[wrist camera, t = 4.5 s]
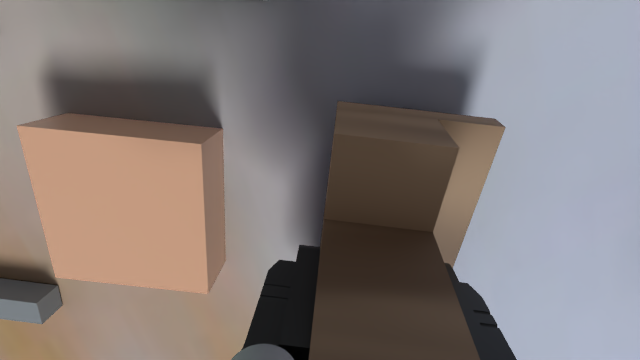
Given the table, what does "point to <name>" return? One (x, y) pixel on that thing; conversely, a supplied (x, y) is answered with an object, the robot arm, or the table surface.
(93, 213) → the tile
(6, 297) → the bay
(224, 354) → the table surface
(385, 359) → the brown block
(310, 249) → the robot arm
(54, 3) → the table surface
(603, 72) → the table surface
